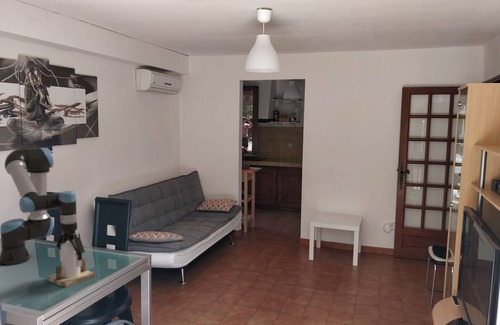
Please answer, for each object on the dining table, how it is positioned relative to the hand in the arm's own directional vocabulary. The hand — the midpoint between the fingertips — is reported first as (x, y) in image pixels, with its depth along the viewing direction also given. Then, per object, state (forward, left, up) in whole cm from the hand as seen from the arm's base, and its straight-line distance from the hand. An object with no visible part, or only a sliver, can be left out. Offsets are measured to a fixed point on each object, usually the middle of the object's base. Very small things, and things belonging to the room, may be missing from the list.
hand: (71, 263), depth 206 cm
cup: (0, 0, -6) cm, 6 cm away
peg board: (0, 0, -8) cm, 8 cm away
